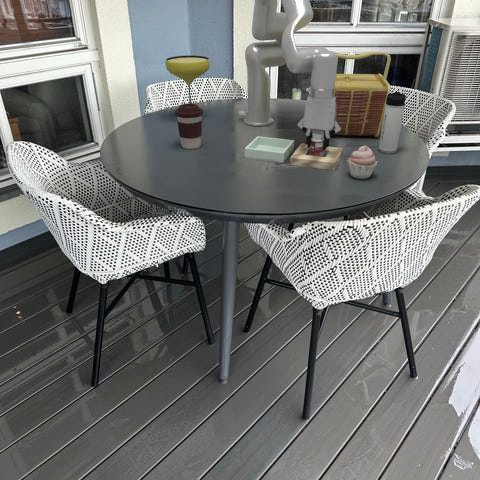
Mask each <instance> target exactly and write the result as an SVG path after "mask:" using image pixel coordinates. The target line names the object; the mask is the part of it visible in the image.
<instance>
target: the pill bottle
mask: <svg viewBox="0 0 480 480" xmlns="http://www.w3.org/2000/svg"><path fill="white" fill-rule="evenodd" d="M311 134H312V138H311V143H310V156H318V157H323V155H324V149H323V147H324V138H325V135H324V134H325V133H324V132H323V131H319V130H316V131H313V133H312V132H311Z"/></svg>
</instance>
